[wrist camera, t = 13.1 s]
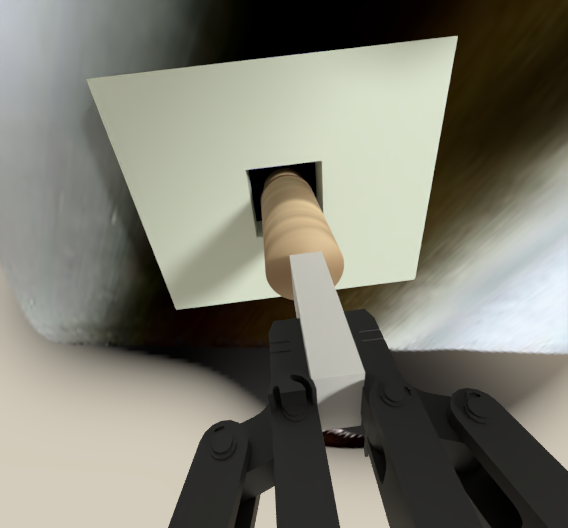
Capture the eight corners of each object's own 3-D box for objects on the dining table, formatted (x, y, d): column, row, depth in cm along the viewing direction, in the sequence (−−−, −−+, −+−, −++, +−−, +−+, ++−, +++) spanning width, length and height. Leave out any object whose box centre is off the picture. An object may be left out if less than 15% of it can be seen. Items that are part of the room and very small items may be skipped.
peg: (256, 167, 24) (260, 240, 14) (306, 161, 24) (345, 230, 14) (263, 213, 26) (270, 304, 16) (309, 207, 26) (343, 295, 16)
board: (106, 77, 20) (85, 78, 18) (432, 39, 20) (457, 35, 18) (182, 289, 30) (176, 309, 28) (401, 261, 30) (414, 279, 28)
